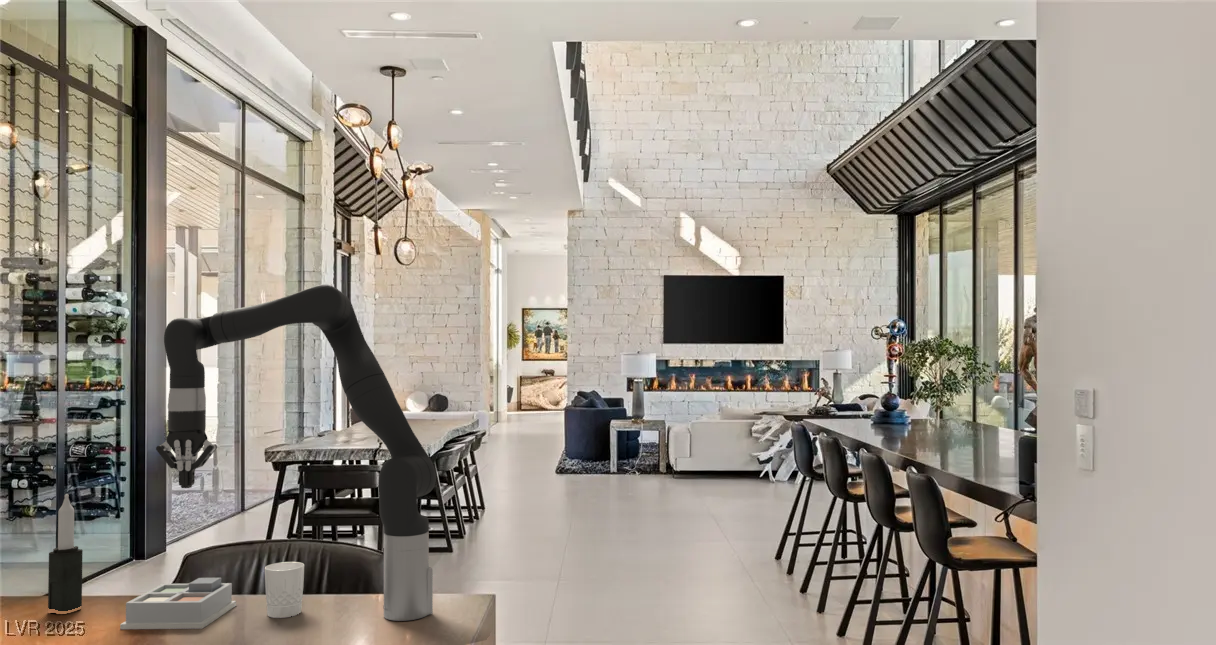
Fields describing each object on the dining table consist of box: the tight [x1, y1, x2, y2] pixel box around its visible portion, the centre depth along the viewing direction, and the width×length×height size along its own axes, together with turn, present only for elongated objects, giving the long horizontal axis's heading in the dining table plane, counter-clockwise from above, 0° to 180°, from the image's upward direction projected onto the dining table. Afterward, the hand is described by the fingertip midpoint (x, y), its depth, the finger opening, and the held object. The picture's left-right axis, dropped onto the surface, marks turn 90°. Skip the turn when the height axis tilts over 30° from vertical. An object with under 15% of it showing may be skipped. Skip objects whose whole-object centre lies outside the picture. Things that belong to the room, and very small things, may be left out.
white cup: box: [264, 561, 305, 619], centre depth 188 cm, size 8×8×10 cm
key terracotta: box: [178, 597, 204, 601], centre depth 183 cm, size 5×5×3 cm
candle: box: [47, 493, 84, 611], centre depth 192 cm, size 5×5×25 cm
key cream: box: [143, 597, 170, 602], centre depth 183 cm, size 5×5×3 cm
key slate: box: [188, 577, 222, 592], centre depth 190 cm, size 5×5×3 cm
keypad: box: [119, 582, 237, 630], centre depth 186 cm, size 16×16×5 cm
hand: (186, 487), depth 196 cm, fingers closed
